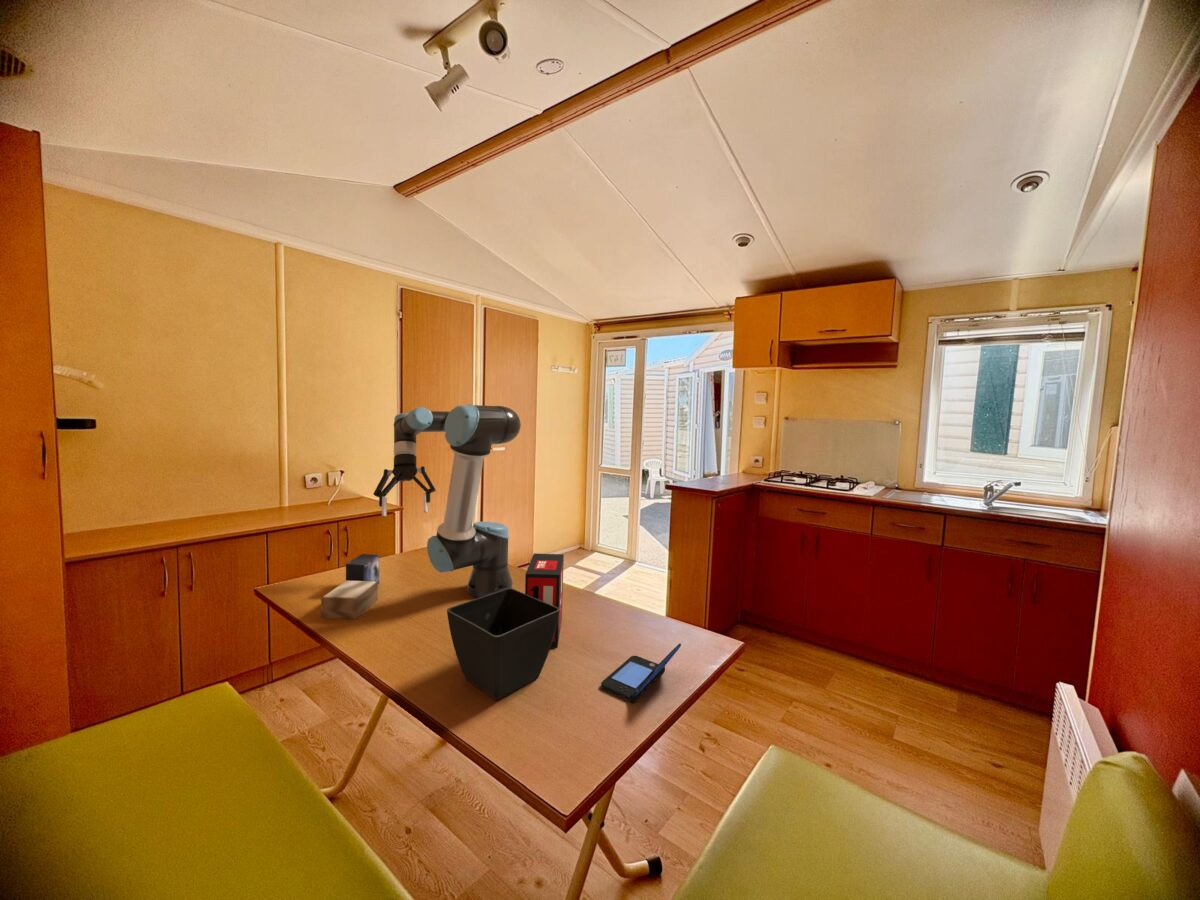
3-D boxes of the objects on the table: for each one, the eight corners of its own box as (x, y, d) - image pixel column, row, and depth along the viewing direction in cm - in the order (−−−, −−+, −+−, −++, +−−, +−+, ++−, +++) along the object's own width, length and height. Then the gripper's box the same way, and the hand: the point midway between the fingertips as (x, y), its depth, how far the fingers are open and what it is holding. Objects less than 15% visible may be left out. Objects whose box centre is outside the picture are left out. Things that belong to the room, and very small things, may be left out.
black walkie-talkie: (633, 659, 117) (634, 624, 116) (681, 678, 110) (683, 641, 109) (598, 689, 104) (599, 650, 103) (650, 713, 97) (652, 671, 96)
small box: (364, 595, 148) (364, 564, 147) (344, 594, 148) (344, 563, 147) (380, 583, 159) (380, 553, 158) (362, 582, 159) (361, 553, 158)
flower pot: (508, 647, 120) (509, 585, 119) (560, 675, 108) (562, 607, 107) (444, 678, 106) (444, 608, 104) (495, 715, 94) (496, 637, 92)
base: (377, 600, 145) (377, 581, 145) (356, 619, 132) (355, 598, 132) (346, 599, 145) (346, 579, 145) (321, 617, 132) (321, 597, 132)
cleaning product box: (532, 618, 137) (533, 553, 135) (561, 619, 137) (563, 554, 135) (523, 647, 121) (525, 573, 119) (557, 647, 121) (559, 574, 119)
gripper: (443, 456, 170) (444, 512, 164) (371, 461, 166) (370, 519, 160) (439, 449, 163) (440, 508, 157) (364, 455, 159) (362, 515, 153)
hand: (405, 514), depth 158 cm, fingers open, 13 cm apart
